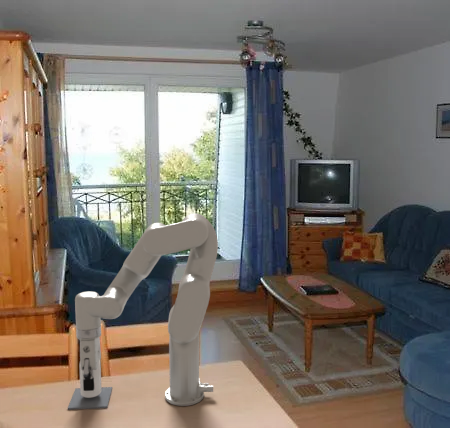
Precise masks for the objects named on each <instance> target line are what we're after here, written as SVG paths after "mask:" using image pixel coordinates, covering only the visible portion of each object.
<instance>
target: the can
mask: <svg viewBox="0 0 450 428" xmlns="http://www.w3.org/2000/svg"><path fill="white" fill-rule="evenodd" d="M101 364H102V363H101V359H100V360H99V363H98V368H97V369H96V370H93V378H94V390H93V391H84V388H83V371H84V370H81V364H80V363H79V365H78V366H79V384H80V386H79V388H80V390H81V395H82V396H83V397H85V398H93V397H96V396H98V395H99V394H100V393H101V387H102V368H101V367H102V366H101ZM89 369H91V366H89ZM89 373H90V374H91V371H89Z"/></svg>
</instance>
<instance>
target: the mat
mask: <svg viewBox="0 0 450 428" xmlns="http://www.w3.org/2000/svg"><path fill="white" fill-rule="evenodd" d="M112 391H113V386H103V387H102V386H101V393H100V394H99V395H98V396H96V397H93V398H85V397H83V396H82V395H81V390H80V387H76V388H75V389H74V391H73V394H72V396H71V398H70V401H69V404H68V406H67V411H71V410H89V409H90V410H92V409H93V410H94V409H107V408H109V407H108V406H109V402H110V399H111V395H112Z"/></svg>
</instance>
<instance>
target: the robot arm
mask: <svg viewBox="0 0 450 428" xmlns="http://www.w3.org/2000/svg"><path fill="white" fill-rule="evenodd" d="M218 249H219V241H218V236H217V232H216V230H215V227H214V226H213V224H212V223H211V222H210V221H209V219H208V218H206V217H205V216H204V215H202V214H200V213H192V212H191V213H190V214H188V215H186V216H185V217H184V218H183V219H182V221H179V222H177V223H176V222H175V223H171V224H167V225H166V224H164V223H163V222H162V223H161V222H154V223H152V224H151V223H150V224H149V226H148V227H147V228H146V229H145V230H144V232H143V233H142V234H141V236H140V238H139V239H138V240H137V242H136V244H135V246H134V247H133V248H132V249H131V251H130V253H129V254H128V255H127V257H126V259H125V260H124V261H123V265H122V267H121V268H120V270H119V271H118V272H117V275H115V277H114V279H113V280H112V282H111V283H110V285H109V286H108V287H107V289H106V290H105V292H104V294H103V295H99V293H98V292H96V291H92V290H91V291H89V290H88V291H82V292H79V293H78V294H76V295H75V298H74V306H75V307H74V308H75V310H74V312H75V328H76V329H75V332H76V334H75V335H76V338H77V340H79V357H80V358H79V360H80V361H79V364H81V370H84V371H83V388H84V391H93V390H94V378H93V370H96V369H97V368H98V363H99V360H100V361H101V359H102V351H101V343H100V342H101V341H100V340H101V339H100V337H101V336H102V325H101V324H102V321H101V320H102V319H105V320H113V319H114V320H115V319H117V318H118V317H120V316H121V315H122V313H123V311H124V308H125V306H126V304H127V301H128V300H129V298H130V297H131V295H132V294H133V293H134V291H135V289H136V288H137V287H138V286H139V284H140V283H141V282H142V280H143V281H144V279H146V278H147V277H148V276H149V275H150V274H151V272H152V270H153V269H154V267H155V266H156V265H157V263H158V262H159V260H160V259H161V257H162V256H164V255H169V254H170V255H171V254H174V253H178V252H182V251H187V250H189V255H188V256H187V257H188V259H187V262H186V265H185V269H184V272H183V275H182V276H181V278H180V281H179V285H178V289H177V290H178V291H177V296H176V298H175V303H174V304H173V306H171V308H170V310H169V315H168V321H167V323H168V324H167V332H168V334H169V336H168V337H169V349H168V350H169V352H168V355H169V361H168V362H169V387H168V388H167V389H166V390H165V393H164V397H165V400H166V401H167V402H168V403H170V405H174V406H179V407H186V406H187V407H188V406H189V407H190V406H192V405H196V404H198V403H199V402H201V401H202V400H203V399H204V397H205V394H204V393H213V392H214V385H210V382H203V383H202V382H201V378H200V330H201V327H202V324H203V321H204V318H205V316H206V312H207V309H208V306H209V301H210V297H211V288H210V283H211V278H212V275H213V271H214V268H215V264H216V260H217V257H218V251H219V250H218ZM89 366H91V369H89ZM89 371H91V374H90V373H89Z"/></svg>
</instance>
